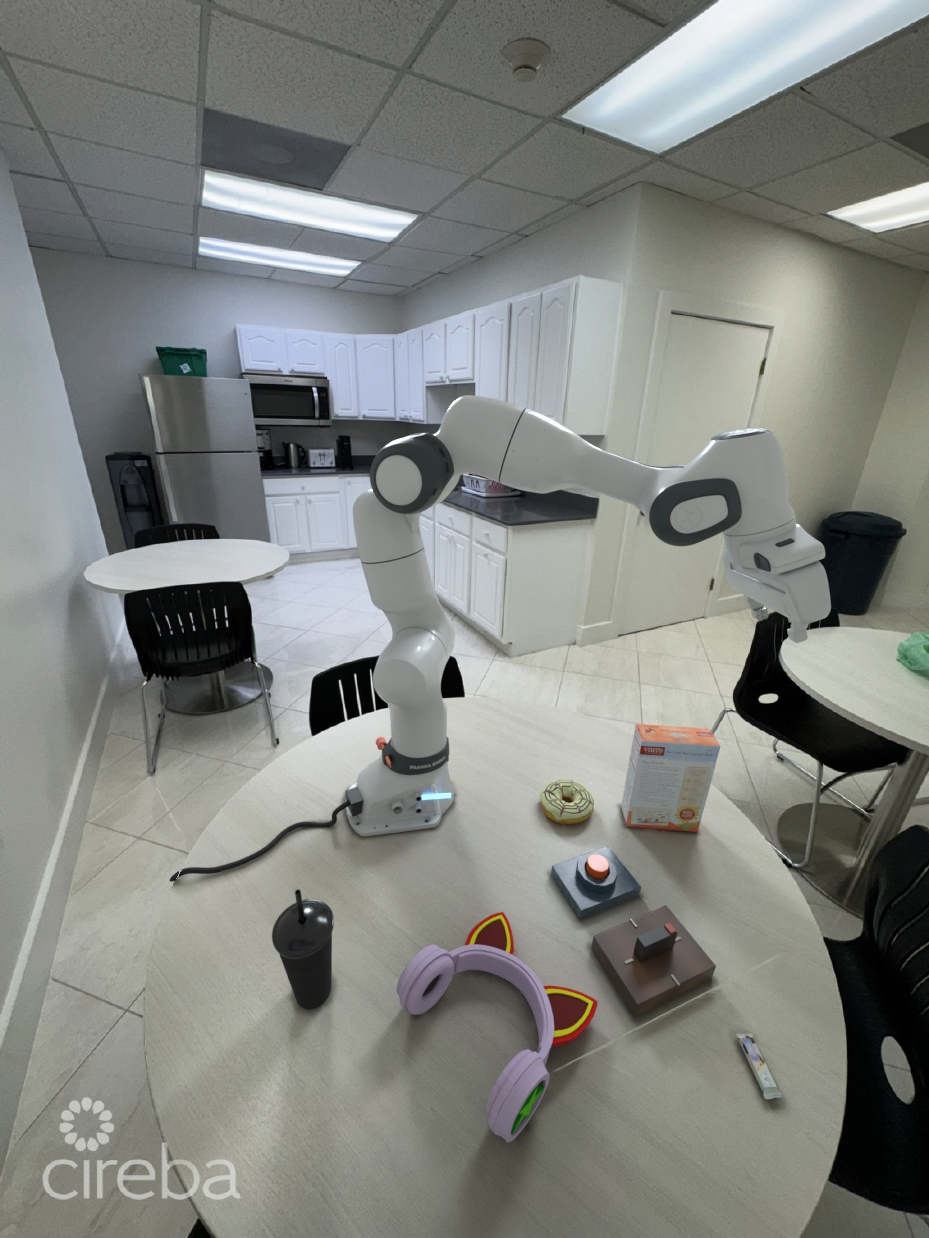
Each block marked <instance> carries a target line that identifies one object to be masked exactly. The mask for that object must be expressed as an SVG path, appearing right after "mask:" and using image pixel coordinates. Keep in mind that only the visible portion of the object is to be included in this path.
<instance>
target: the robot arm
mask: <svg viewBox="0 0 929 1238" xmlns="http://www.w3.org/2000/svg"><path fill="white" fill-rule="evenodd" d="M788 473H789V472H788V468H787V464H786V459H785V456H784V452H783V449H782V446H781V443H780V441H779V439H778V437H777V435H776V434H775V433H774V432H772V431H771V430H768V429H765V428H761V427H750V428H747V427H745V428H738V429H733V430H729V431H725V432H721V433H718V434H716V435H715V436H713V437H711V438H710V439H709V440H708V442H707V443H706V445H705V446H704V447H703V449H702V450H701V451H699V453H698V454H697V455H696V456H695V457H694V458H693V459H692V460H690V462H689V463H687V464H666V465H648V464H645V463H642V462H638V461H636V460H633V459H630V458H627V457H625V456H624V457H623V456H621V455H619V454H615V453H613V452H610V451H606V450H604V449H601V448H599V447H597V446H595V445H593V444H592V443H591V442H588V441H587V440H586V439H583V438H582V437H581V436H580V435H578V434H577V433H576V432H574V431H572V430H571V429H570V428H568V427H566V426H565V425H563V424H562V423H560V422H558V421H556V420H555V419H553V418H551V417H549V416H547V415H545V414H542V413H541V412H538V411H536V410H533V409H530V408H527V407H524V406H522V405H519V404H515V403H513V402H508V401H505V400H501V399H497V398H492V397H487V396H480V395H479V396H478V395H472V394H468V395H467V394H466V395H462V396H460V397H458V398H456V399H455V400H453V402H452V403H451V404H450V405H449V407H448V408H447V410H446V412H445V413H444V415H443V418H442V421H441V424H440V426H439V429H438V430H437V431H436V432H433V431H431V432H417V433H411V434H409V435H406V436H404V437H401V438H396V439H394V440H392V441H390V442H388V443H386V445H384V446H383V447H382V448H381V449H380V450H379V451H378V452H377V454H376V455H375V457H374V458H373V460H372V463H371V465H370V470H369V483H370V486H371V488H369V489H367V490H365V491H364V492H362V493H361V494H360V495H359V496H358V497H357V498H356V499H355V501H354V502H353V505H352V517H353V519H352V520H353V528H354V529H353V530H354V537H355V542H356V543H355V544H356V547H357V552H358V556H359V561H360V563H361V568H362V571H363V575H364V578H365V582H366V585H367V586H366V587H367V590H368V594H369V596H370V600H371V602H372V604H373V606H374V607H375V608H377V609H378V610H381V611H382V612H383V614H384V615H385V617H386V619H387V621H388V622H389V624H390V627H391V632H392V636H391V639H390V641H389V642H388V644H387V645H386V646H385V647H384V649H383V650H382V651H381V653H380V654H379V656H378V659H377V660H376V663H375V667H374V671H373V674H372V685H373V688H374V690H375V692H376V694H377V695H378V697H379V698H380V699H381V700H382V701H384V702H385V703H386V704H387V707H388V710H389V720H390V722H389V723H390V739H389V740H388V742H387V741H386V738H385V737H384V736H379V737H377V738H376V739H375V745H376V748H377V749H378V750H379V751H381V755H379V756H378V757H377V758H375V759H374V760H373V761H372V762H371V763H369V764H368V765H367V766H365V767H364V768H362V769H361V770H360V772H359V774H358V776H357V779H356V783H354V784H352V785H350V786H349V787H348V789H346V790H345V791H344V793H345V800H344V802H343V803H342V804H340V805H338V806H337V807H336V808H334V810H333V811H332V813H331V820H330V821H327V822H317V821H300V822H295V823H292V824H291V825H289V826H287V827H286V828H284V829H283V830H281V831H280V832H279V833H278V834H277V835H276V836H275V837H274V838H273V839H272V840H271V841H270V842H269V843H268V844H266V845H265V846H264V847H263V848H261V849H260V850H257V851H255V852H254V853H251V854H250V855H248V856H245V857H243V858H241V859H237V860H235V861H232V862H229V863H226V864H222V865H218V866H212V867H211V866H210V867H203V866H191V867H184V868H182V869H181V870H182V871H181V872H180V874H179V870H178V871H176V872H175V873H173V874H172V876H171V877H170V878H169V882H175V881H177V879H176V878H177V876H178V874H179V878H180V877H182V876H185V875H195V874H197V875H211V874H217V873H223V872H226V871H228V870H233V869H235V868H238V867H241V866H244V865H246V864H248V863H250V862H252V861H254V860H256V859H258V858H260V857H261V856H264V855H265V854H267V853H268V852H269V851H270V850H271V849H272V848H274V847H275V846H276V845H277V844H278V843H279V842H280V841H281V840H282V839H283V838H284V837H285V836H287V835H288V834H290V833H291V832H292V831H294V830H297V829H300V828H330V827H332V826H334V825H335V824H337V821H338V814H340V812H342V811H343V810H345V814H346V817H347V820H348V823H349V825H350V826H351V828H352V829H353V831H355V833H356V834H357V835H359V836H360V837H373V836H380V835H388V834H395V833H402V832H403V833H404V832H410V831H418V830H427V829H433V828H437V827H438V826H439V824H440V822H441V820H442V817H443V815H444V813H445V812H446V811H447V810H448V809H449V808H450V807H451V805H452V803H453V801H454V798H455V791H454V787H453V784H452V782H451V777H450V773H449V764H448V762H449V761H450V739H449V736H448V705H447V703H446V702H445V700H444V699H443V695H442V689H441V687H442V679H443V674H444V671H445V668H446V665H447V663H448V662H449V659H450V657H451V655H452V653H453V650H454V647H455V641H456V640H455V639H456V638H455V637H456V630H455V629H456V628H455V626H454V623H453V621H452V619H450V617H449V616H447V614H446V613H445V612H444V611H445V610H444V609H443V607H442V604H441V603H440V600H439V598H438V596H437V593H436V591H435V588H434V584H433V580H432V576H431V571H430V567H429V562H428V558H427V554H426V549H425V545H424V541H423V536H422V532H421V528H420V519H421V513H423V512H425V511H427V510H428V509H430V508H433V507H435V506H437V505H439V504H440V503H442V502H443V501H444V500H445V499H446V498H448V496H449V495H451V494H452V493H453V492H454V491H455V490H456V489H457V488H458V486H460V483H461V482H462V479H463V477H464V475H465V474H466V475H467V474H469V475H471V474H472V475H476V476H480V477H483V478H486V479H489V480H491V481H494V482H496V483H500V484H501V485H504V486H506V487H510V488H512V489H516V490H520V491H525V492H530V493H535V494H549V493H553V492H556V491H561V490H566V489H583V490H584V489H585V490H587V491H591V492H595V493H598V494H601V495H603V496H606V497H610V498H613V499H615V500H618V501H621V502H624V503H627V504H630V505H632V506H634V507H635V508H637V510H639V511H640V512H641V513H642V514H643V515H644V517H645V518H646V519H647V522H648V524H649V526H650V529H651V531H652V532H653V534H654V536H656V537H657V538H658V540H660V541H661V542H663V543H665V544H667V545H670V546H674V547H689V546H693V545H697V544H699V543H701V542H704V541H706V540H708V539H711V538H713V537H715V536H717V535H720V534H721V533H722V535H723V539H724V544H725V548H724V549H723V550H722V560H723V567H724V574H725V580H726V582H727V585H728V586H729V588H731V589H732V590H735V591H736V592H738V593H740V594H742V595H743V599H744V600H745V602H746V604H747V605H748V607H749V609H750V613H751V616H752V618H753V619H754V620H757V621H759V622H761V621H763V620H767V619H768V618H769V610H768V608H769V609H770V610H773V611H774V612H776V613H778V614H780V615H782V616H784V617H785V618H787V621H788V623H791V624H790V628H787V629H786V632H787V635H788V636H787V637H788V639H789V640H791V641H792V642H794V643H796V644H800V643H802V642H805V641H807V640H808V631H807V629H808V627H809V624H812V623H815V622H818V621H821V620H823V619H825V618H827V617H828V616H829V615H830V613H831V609H832V603H831V592H830V585H829V580H828V575H827V572H826V569H825V567H824V565H823V564H822V563H821V561H820V560H823V559H825V558H826V549H825V546H824V544H823V543H822V541H819V540H817V538H815V537H813V536H812V535H811V534H810V533H808V532H807V531H806V530H805V529H804V528H803V526H801V524H798V523H797V517H796V513H795V510H794V508H793V506H792V505H791V502H790V499H789V498H790V497H789V492H790V487H791V485H790V478H789V474H788Z"/></svg>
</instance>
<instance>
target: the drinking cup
mask: <svg viewBox="0 0 929 1238" xmlns="http://www.w3.org/2000/svg"><path fill="white" fill-rule="evenodd" d="M294 895H295V902H294V903H293V904H291V905H289V906H288V907H286V908H285V909H284V910H283V911H282V912H281V913H280V914H279V915H278V917H277V919H276V920H275V923H274V925H273V927H272V932H271V940H272V945H273V948H275V951H276V952H277V953H278V955H279V957H280V961H281V963H282V966H283V968H284V970H285V973H286V977H287V979H288V982H289V985H290V987H291V990H292V993H293V996H294V998H295V1001H296V1003H297V1005H298V1006H299V1007H300V1008H302V1009H304V1010H308V1011H310V1010H315V1009H317V1008H319V1007H321V1006H323V1004H324V1003H325V1002H326V1001H328V998H329V996H330V995H331V991H332V973H333V971H332V965H333V964H332V963H333V962H332V961H333V957H332V956H333V931H334V926H335V918H334V917H335V916H334V913H333V911H332V909H331V907H330V906H329V905H328V904H327V903H326V902H325V901H322V900H320V899H316V898H315V899H314V898H306V899H303V897H302V891H301V889H300V888H299V889H296V890H295V891H294Z"/></svg>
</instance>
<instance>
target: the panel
mask: <svg viewBox="0 0 929 1238" xmlns="http://www.w3.org/2000/svg"><path fill="white" fill-rule="evenodd" d="M668 923H671V925H672V926H673V927H674V928H675V929H676V931H677V932H678V933H677V937H676V940H675V943H674V947H673V948H672V949H670V950H667V951H665V952H663V953H661V954H659V955H657V956H654V957H652V958H650V959H648V960H646V961H644V962H641V963H640V961H639V960H638V958H637V957H636V955H635V954H634V948H635V944H636V940H637V937H638V936H640V935H643V934H645V933H647V932H649V931H652V930H654V929H656V928H658V927H661V926H663V925H665V924H668ZM590 949H591V950H592V953H593V954H594V956H595V958H596V959H597V961H598V963H600V965H601V967H602V968H603V970H604V972H605V973H606V975H607V977H608V979H609V980H610V981H611V983H612V985H613V986H614V988H615V990H616V991H617V993H618V995H619V996H620V998H621V999H622V1001H623V1003H624V1004H625V1006H626V1007H627V1009H628V1010H629V1012H630V1014H631V1016H632V1017H633V1018H637V1017H639V1016H642V1015H643V1014H645V1013H647V1012H649V1011H651V1010H653V1009H655V1008H657V1007H659V1006H661V1005H663V1004H665V1003H668V1002H669V1001H671V1000H672V999H675V998H677V997H679V996H681V995H683V994H684V993H686V992H688V991H690V990H692V989H694V988H696V987H698V986H701V985H702V984H704V983H706V982H708V981H710V980H712V979H713V975H714V974H715V971H716V968H717V965H716V964H715V963H714V961H713V960H712V959H711V958H710V956H709V955H708V954H707V953H706V952H705V950H704V949H703V948H702V946H700V944H699V943H698V941H697V940H696V939H695V938H694V937H693V936H692V935H691V933H690V932H689V931H688V930H687V928H686V927H685V926H684V925H683V924H682V922H681V921H680V920H679V919H678V918H677V916H676V915H675V914H674V913H673V912H672V910H671V909H670V908H669V907H668V906H667V905H664V906H661V907H659V908H657V909H654V910H651V911H649V912H647V913H644V914H642V915H640V916H637V917H635V918H630V919H629V920H628V921H626V922H623V923H620V924H618V925H616V926H614V927H612V928H609V929H606V930H603V931H602V932H599V933H597V934H594V935H593V936H592V942H591V947H590Z"/></svg>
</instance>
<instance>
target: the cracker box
mask: <svg viewBox="0 0 929 1238" xmlns="http://www.w3.org/2000/svg"><path fill="white" fill-rule="evenodd" d="M720 750H721V745H720V743H719V741H718V740H717V738H716V737H715V735H714V734H713V732H712V730H711V729H710V728H703V727H702V728H701V727H690V726H675V725H673V726H672V725H671V726H670V725H660V724H659V725H656V724H645V723H643V724H642V723H635V726H634V732H633V737H632V743H631V748H630V754H629V760H628V765H627V771H626V776H625V783H624V789H623V793H622V800H621V805H620V807H621V812H622V815H623V819H624V823H625V826H626V827H628V828H629V827H630V828H641V829H655V830H667V831H679V832H689V833H690V832H691V833H698V832H699V828H700V825H701V821H702V818H703V814H704V810H705V806H706V803H707V800H708V795H709V791H710V787H711V785H712V780H713V776H714V772H715V769H716V765H717V760H718V757H719V754H720Z"/></svg>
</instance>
